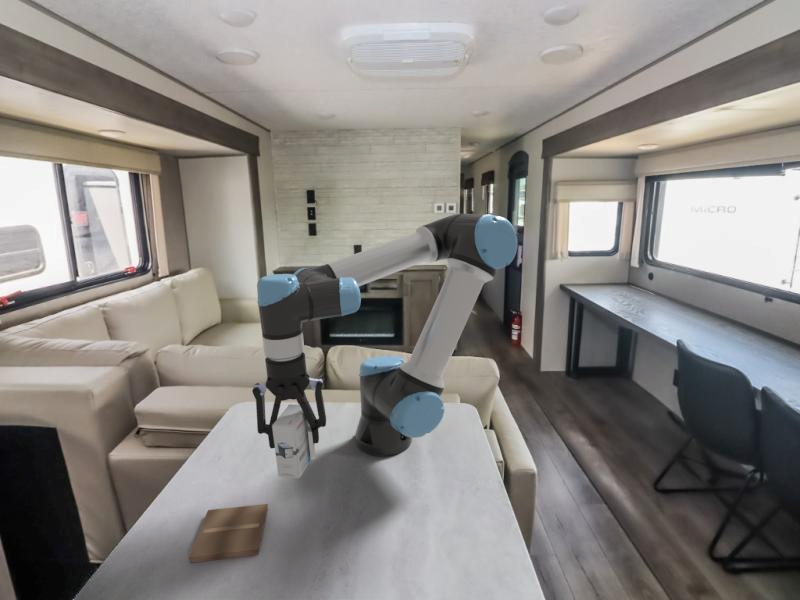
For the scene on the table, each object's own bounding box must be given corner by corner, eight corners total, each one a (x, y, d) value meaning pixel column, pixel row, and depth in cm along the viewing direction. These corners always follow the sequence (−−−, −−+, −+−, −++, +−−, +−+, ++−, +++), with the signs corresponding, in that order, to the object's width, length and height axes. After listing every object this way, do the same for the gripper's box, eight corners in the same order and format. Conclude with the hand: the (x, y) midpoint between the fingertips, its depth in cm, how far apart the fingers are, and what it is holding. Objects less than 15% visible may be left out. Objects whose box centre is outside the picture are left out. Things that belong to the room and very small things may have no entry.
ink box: (294, 451, 93) (288, 403, 91) (316, 453, 93) (310, 404, 90) (277, 477, 85) (269, 425, 82) (301, 478, 84) (294, 426, 81)
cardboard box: (268, 508, 90) (267, 503, 90) (258, 554, 79) (257, 548, 78) (208, 515, 88) (208, 509, 88) (189, 562, 77) (188, 557, 77)
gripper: (334, 343, 88) (342, 442, 93) (238, 351, 85) (252, 452, 91) (334, 357, 80) (342, 463, 86) (229, 366, 78) (245, 475, 84)
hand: (296, 458), depth 89 cm, fingers closed on ink box, 6 cm apart
